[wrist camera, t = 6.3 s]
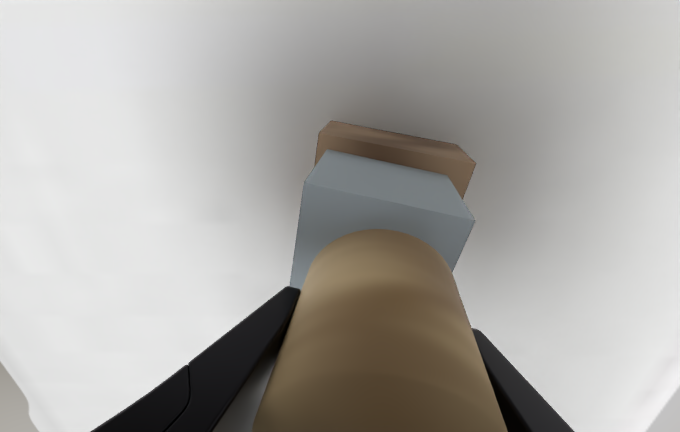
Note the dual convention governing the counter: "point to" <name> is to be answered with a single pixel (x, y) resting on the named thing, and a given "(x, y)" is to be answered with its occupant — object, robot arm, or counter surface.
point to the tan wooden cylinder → (379, 346)
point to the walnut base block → (398, 151)
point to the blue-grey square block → (377, 207)
